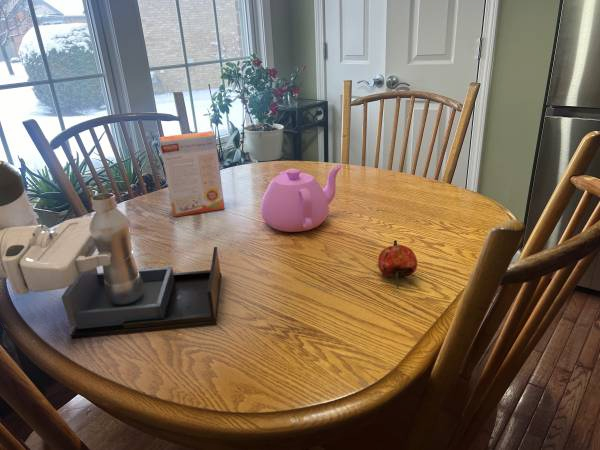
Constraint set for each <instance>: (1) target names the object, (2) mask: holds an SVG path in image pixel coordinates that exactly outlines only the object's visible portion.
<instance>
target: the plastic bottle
mask: <svg viewBox="0 0 600 450" xmlns="http://www.w3.org/2000/svg"><path fill="white" fill-rule="evenodd" d="M90 201H91V204H92V205H91V208H92V210H93V211H94V213H93V215H92V216H93V217H92V219H91V221H90V227H89V230H90V233H91V236H92V238H93V240H94V243H95V245H96V247H97V249H96V250H97V252H98V253H97V254H99V252H110V253H111V256H112V261H111V263H110V264H109V265H107V266H102V273H104V278H105V292H106V294H107V297H108V299H109V300H110V301H111V302H113V303H114V304H117V305H125V304H130V303H132V302H135V301H136V300H138V299H139V298H140V297H141V295H142V293H143V281H142V278H141V276H140V274H139V272H138V270H139V269H138V267H137V264H136V261H135V258H134V254H133V246H132V238H131V224H130V221H129V219H128V217H127V216H126V215H125V214H124V213H123V212H122V211H121V210H120V209H118V208H117V206H118V202H117V201H116V196H115V194H114V193H112V192H102V193H97V194H94V195H92V196H91V197H90Z"/></svg>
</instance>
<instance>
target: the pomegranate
mask: <svg viewBox="0 0 600 450" xmlns="http://www.w3.org/2000/svg"><path fill="white" fill-rule="evenodd" d="M392 242H393V245H389V246H387V247H385V248H384V249H382V250H381V252H380V253H379V254H378V260H377V267H378V269H379V272H380V273H381V274H382V275H383V277H386V278H394V277H395V279H396V289H397V290H398V289H399V281H400V280H399V277H400V278H405V277H406V278H407V277H410V276H411V275H412V274H413V273H414V272H416V271H417V268H418V259H417V256H416V254H415V252H414V251H413V249H411V248H410V247H408V246H405V245H402V244H398V241H397V240H396V239H395V240H393V241H392Z"/></svg>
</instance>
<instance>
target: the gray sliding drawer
mask: <svg viewBox="0 0 600 450" xmlns="http://www.w3.org/2000/svg"><path fill="white" fill-rule="evenodd" d="M173 269H174V268H173V266H167V267H153V268H143V269H142V268H141V269H137V270H138V272H139V274H140V276H141V278H142V281H143V293H142V295H141V297H140V298H139V299H138V300H136V301H135V302H132V303H130V304H125V305H117V304H114V303H113V302H111V301H110V300H109V299H108V297H107V294H106V292H105V278H104V272H99V271H98V267H96V268H94V269H91V270H89V271H85V272H81V273H80V274H79V276H78V277H77V278H76V280H75V281H74V283H73V284H72V285H70V286H68V287H66V289H65V291H64V292H63V294H62V295H61V300H62V304H63V306H64V309H65V313H66V317H67V319H68V322H69V326H70V327H71V328H72V327H74V328H75V327H76V326H77V327H78V329H84V328H94V327H105V326H115V325H123V323H124V322H127V321H137V320H148V319H159V318H164V315H165V312H166V308H167V305H168V301H169V298H170V294H171V291H172V287H173V284H174V274H173V273H174V270H173ZM99 286H100V287H99ZM98 288H99V289H98ZM97 290H98V291H97ZM94 295H95V296H94ZM93 297H94V298H93ZM90 302H91V303H90ZM89 304H90V305H89ZM88 306H89V307H88ZM86 309H87V310H86Z"/></svg>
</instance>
